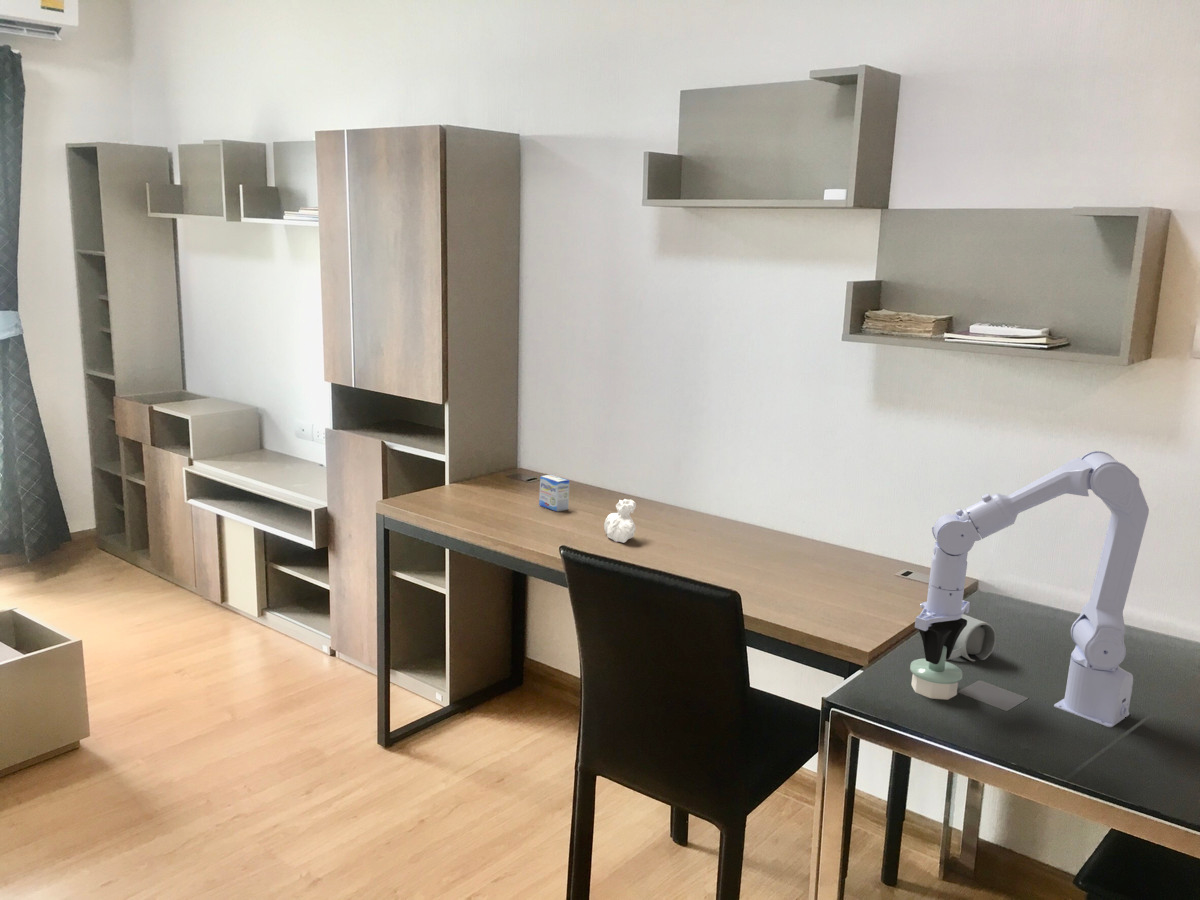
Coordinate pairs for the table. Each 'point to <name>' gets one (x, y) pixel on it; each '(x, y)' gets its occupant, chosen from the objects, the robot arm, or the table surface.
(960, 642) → the ceramic mug
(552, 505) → the medicine box
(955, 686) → the bowl
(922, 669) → the lid
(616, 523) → the white tied sack
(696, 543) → the table surface
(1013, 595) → the table surface
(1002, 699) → the mat
